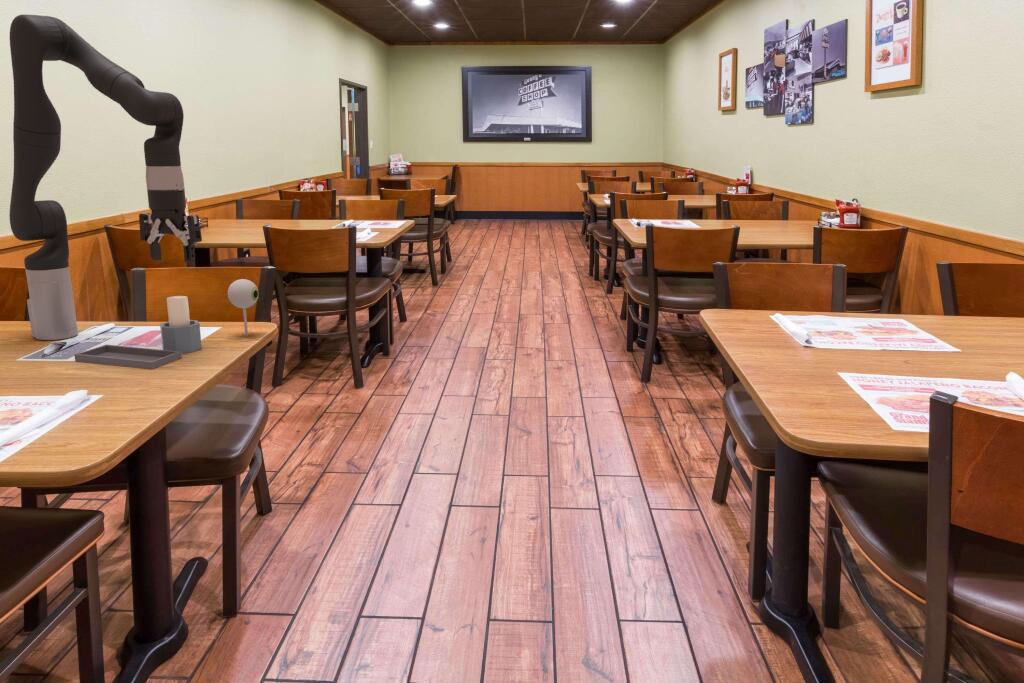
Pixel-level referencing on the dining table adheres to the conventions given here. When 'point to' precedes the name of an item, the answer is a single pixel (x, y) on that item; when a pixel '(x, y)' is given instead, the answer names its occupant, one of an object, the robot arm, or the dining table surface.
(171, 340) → the grey octagonal collar
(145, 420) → the dining table surface
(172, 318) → the peg
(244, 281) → the lollipop
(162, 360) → the tray
